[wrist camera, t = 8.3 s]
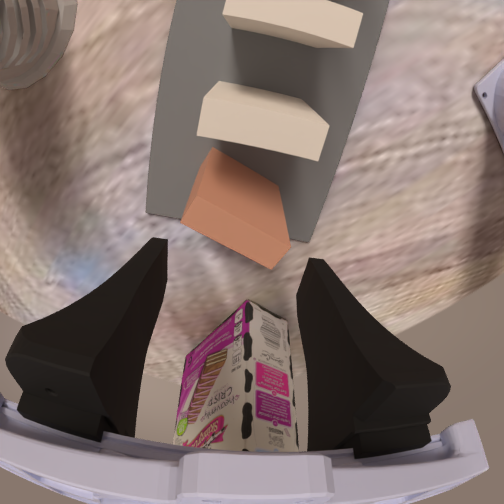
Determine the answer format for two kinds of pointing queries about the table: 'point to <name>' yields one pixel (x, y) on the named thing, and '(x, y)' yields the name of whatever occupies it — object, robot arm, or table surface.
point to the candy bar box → (240, 387)
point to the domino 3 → (238, 209)
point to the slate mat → (262, 77)
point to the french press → (32, 38)
